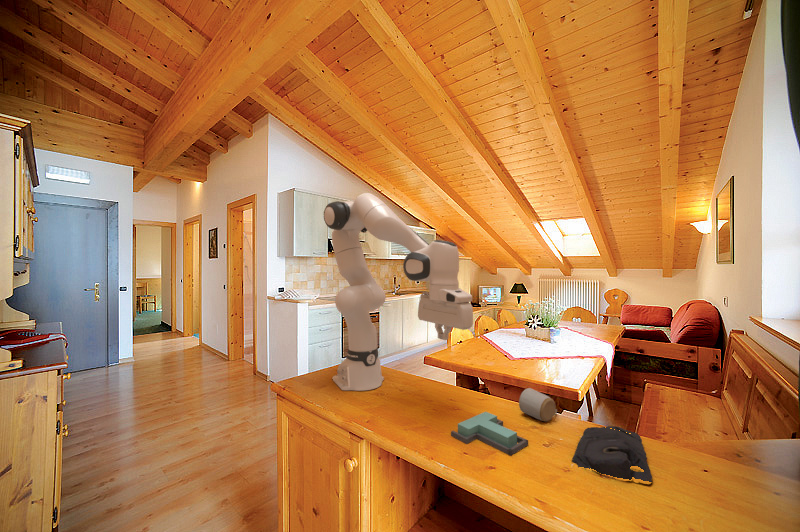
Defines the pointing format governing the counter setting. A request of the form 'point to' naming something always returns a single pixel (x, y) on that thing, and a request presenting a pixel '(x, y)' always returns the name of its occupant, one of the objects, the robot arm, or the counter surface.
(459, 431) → the teal T block
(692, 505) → the counter surface
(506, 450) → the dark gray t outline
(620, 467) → the dark slate chunk
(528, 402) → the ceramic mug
